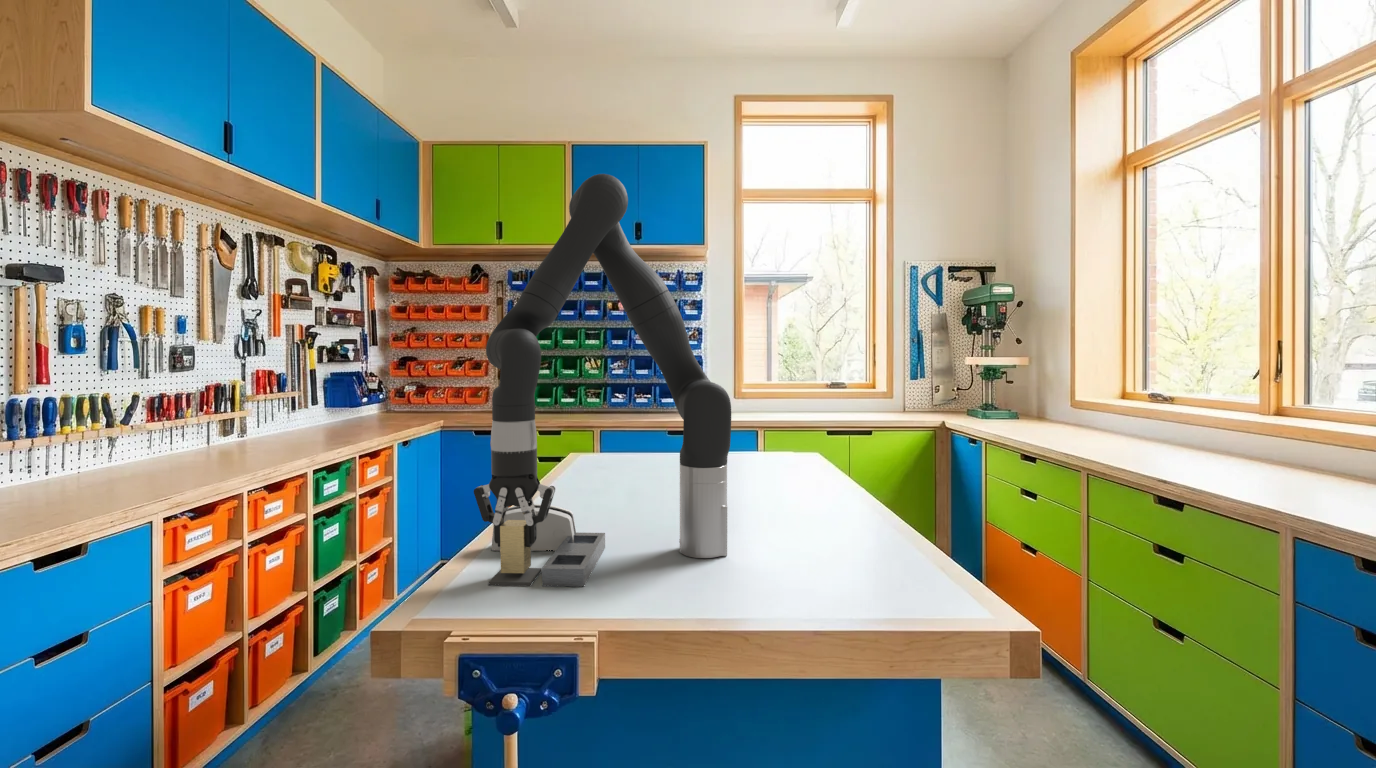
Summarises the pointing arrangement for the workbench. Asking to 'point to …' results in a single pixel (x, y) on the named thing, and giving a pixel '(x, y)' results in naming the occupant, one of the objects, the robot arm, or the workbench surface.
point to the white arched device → (545, 527)
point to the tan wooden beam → (514, 547)
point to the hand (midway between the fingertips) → (515, 545)
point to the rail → (574, 560)
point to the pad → (515, 578)
